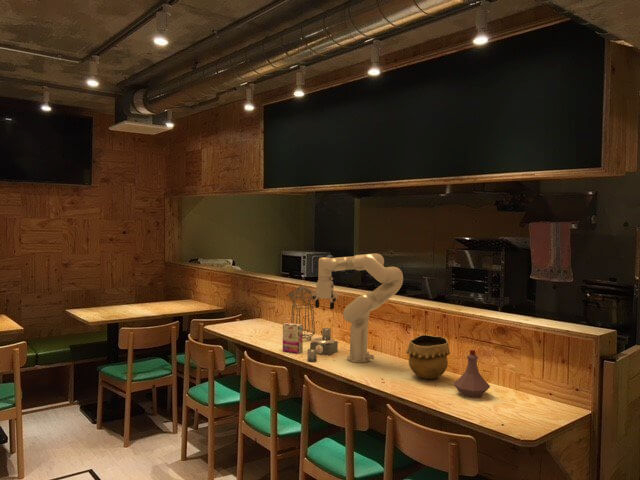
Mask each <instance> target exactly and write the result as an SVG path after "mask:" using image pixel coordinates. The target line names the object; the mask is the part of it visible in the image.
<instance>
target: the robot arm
mask: <svg viewBox="0 0 640 480" xmlns="http://www.w3.org/2000/svg"><path fill="white" fill-rule="evenodd" d="M384 265H385V258H384V256H383V255H381V254H380V253H365V254H355V255H353V256H342V257H341V256H339V257H326V256H325V257H319V258H318V273H317V274H318V276H317V277H318V279H317V282H316V286H315V287H316V288H315V291H311V292H312V293H311V294H312V295H311V294H310V295H311V296H313V297H312V298H313V299H314V300H313V302H314V306H315V308H316V309H317V308H319V307H320V299H323V300H325V299H327V300H329V301H330V303H329V309H330V310H334V308H335V302H336V301H337V300H338V298H339V294H338V293H336V292H335V287H334V281H333V280H334V277H332V272H340V271H349V270H356V271H366V272H367V273H368V274H369V275H370V276H372V277H373V278H374V279H375V280H376V281H377V282H379V283H380V285H379V286H378V287H377V288H375V289H373V291H371V292H367V293H363V294H361V295H359V296H358V297H356V298H355V299H354V300H353V301H351V302H350V303H348V304H347V305H346V306H345V308H344V309H343V311H342V315H343V319H344V320H345V321H346V322H347V323H351V324H350V335H349V336H350V338H349V339H350V341H349V342H350V343H349V355H348V356H347V357H346V359H347V361H349V362H353V363H367V362H369V361H371V360H374V359H375V355H374V354H370V351H368V338H369V336H368V335H369V320H370V315H371V314H370V313H371V311H372V312H373V311H375V310H378V308H380V307H381V306H382V305H384V304H385V303H386V302H388V301H389V300H390V299H391V298H392V297H393V296H395V295H396V294H397V293H398V292H399V290H400V289H401V288H402V286H403V283H404V275H403V271H402V270H401V269H400V268H399V267H397V266H386V267H385V266H384ZM315 295H316V296H315Z"/></svg>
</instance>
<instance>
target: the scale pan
mask: <svg viewBox="0 0 640 480" xmlns="http://www.w3.org/2000/svg"><path fill="white" fill-rule="evenodd" d="M313 341H314V343H317V344H333V343H334V341H335V339H333V338H331V339H330V340H323V339H322V337H317V338H314V339H313Z"/></svg>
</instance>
